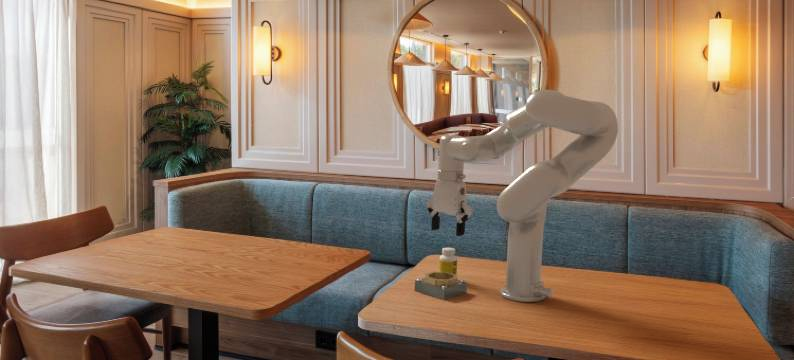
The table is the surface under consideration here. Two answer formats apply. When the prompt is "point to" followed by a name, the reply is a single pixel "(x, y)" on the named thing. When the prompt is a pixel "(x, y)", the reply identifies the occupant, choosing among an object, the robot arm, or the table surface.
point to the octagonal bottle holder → (441, 285)
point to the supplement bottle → (448, 261)
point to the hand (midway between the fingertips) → (447, 232)
